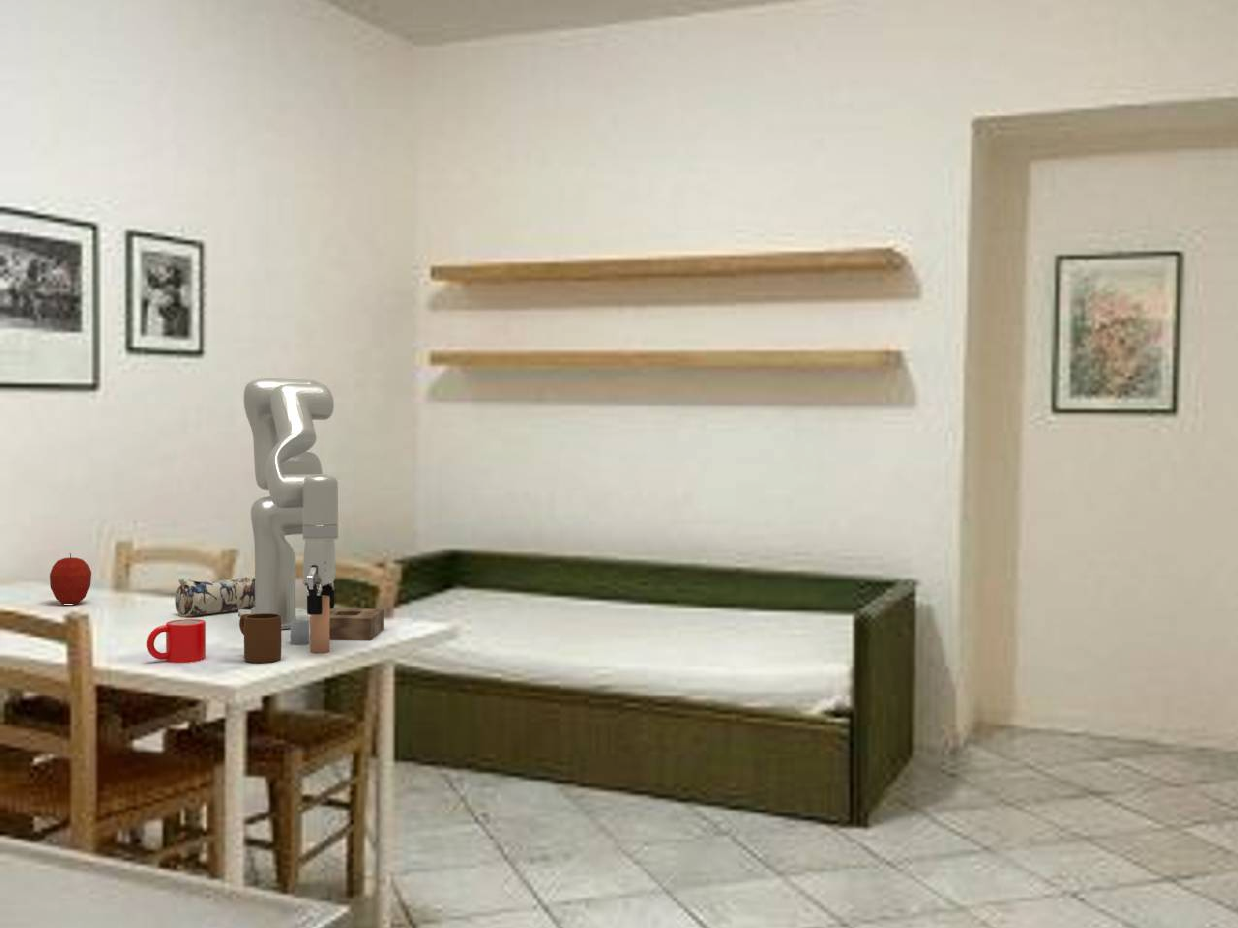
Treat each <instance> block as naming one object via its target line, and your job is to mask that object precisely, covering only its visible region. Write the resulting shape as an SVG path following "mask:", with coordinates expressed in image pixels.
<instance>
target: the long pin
mask: <svg viewBox="0 0 1238 928" xmlns="http://www.w3.org/2000/svg"><path fill="white" fill-rule="evenodd" d="M321 596H322V599H323V613H322V614H320V615H310V617H311V634H310V633H309V644H310V647H309V648H310V653H312V654H325V653H329V652H330V639H329V596H324V595H321Z"/></svg>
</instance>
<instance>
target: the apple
mask: <svg viewBox="0 0 1238 928" xmlns="http://www.w3.org/2000/svg"><path fill="white" fill-rule="evenodd" d="M71 553H72V552H69V557H64V558H63V557H62V558H61V559H58V560H57V561H56V562H55V563H54V565H53V566H52V568H51V571H50V574H49V581H50V585H49V586H50V589H51V591H52V593H53V596H54V598H55V599H56V600H57V602H59V603H60V604H61V603H62V604H76V605H78V603H79V604H80V603H81V602H82V601H83V600H84V599H85V598H86V597H87V595H88V592H89V590H90V587H91V580H92V571H91V569H90V565H89V564H88V563H87V562H86V561H85V560H84V559H82V558H80V557H72V554H71ZM62 604H61V605H62Z"/></svg>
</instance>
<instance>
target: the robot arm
mask: <svg viewBox="0 0 1238 928" xmlns="http://www.w3.org/2000/svg"><path fill="white" fill-rule="evenodd" d="M334 405H335V404H334V397H333V394H332V392H331V390H330V389H329V387H328V386H327V385H325V383H321V382H318V381H317V380H314V379H307V378H306V379H303V378H279V377H278V378H271V377H270V378H269V377H267V378H257V379H256V378H255V379H253V380H251V381H249V382H248V383H247V384H246V385H245V387H244V390H243V406H244V407H243V408H244V412H245V415H246V419H247V421H248V423H249V426H250V429H251V433H252V438H253V439H252V441H253V459H254V474H255V482H256V485H257V486H258V487H259V488H260V489H261V490H265V491H268V494H269V496H268V495H267V496H263V497H260V498H258V499H256V500H255V501H254V502H253V504H252V506H251V509H250V520H251V521H250V522H251V526H252V532H253V540H254V542H253V543H254V575H255V607H253V608H251V609H239V610H237V616H238V617H239V618H240V617H241V616H242V615H244V614H258V613H273V614H279V615H281V630H289V629H290V630H291V621H293V620H302V619H301V618H298V617H296V553H295V552H296V551H295V549H294V548H293V546H292V545H291V544H290V543H289V542H288V540H287V539H286V536H291V535H293V536H294V535H297V536H298V535H302V541H304V548H303V560H302V561H303V562H302V585H303V586H304V587H305V586H306V589H307V590H306V613H307V615H310V616H311V615H320V614H322V613H323V599H322V596H321V595H324V596H329V608H335V583H334V581H335V579H336V545H335V540H338V539H339V486H338V484H339V482H338V479H337V478H336V477H334V476H332V475H328V474H324V472H323V465H322V462H321V460H320V457H319V456H318V455H317V454H315V453H314V452H312V451H311V452H309V450H310V449H311V448H313V446H314V445H315V444H316V442H317V432H316V429H315V425H314V421H315V420H316V421H317V420H320V421H321V420H323V421H324V420H328V419H329V418H330V417H331V416H332V414H333V412H334V408H335V407H334Z"/></svg>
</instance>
